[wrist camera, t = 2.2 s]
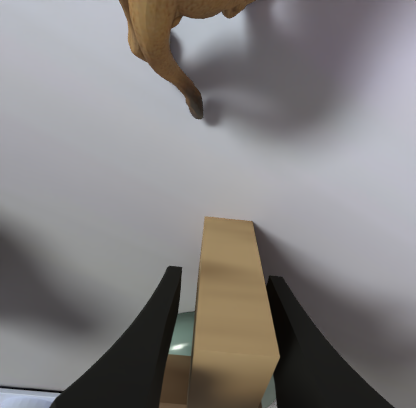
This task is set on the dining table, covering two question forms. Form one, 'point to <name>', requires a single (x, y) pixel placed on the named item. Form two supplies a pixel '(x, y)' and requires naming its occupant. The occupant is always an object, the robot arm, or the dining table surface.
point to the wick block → (231, 321)
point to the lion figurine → (160, 36)
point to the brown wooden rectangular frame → (176, 382)
